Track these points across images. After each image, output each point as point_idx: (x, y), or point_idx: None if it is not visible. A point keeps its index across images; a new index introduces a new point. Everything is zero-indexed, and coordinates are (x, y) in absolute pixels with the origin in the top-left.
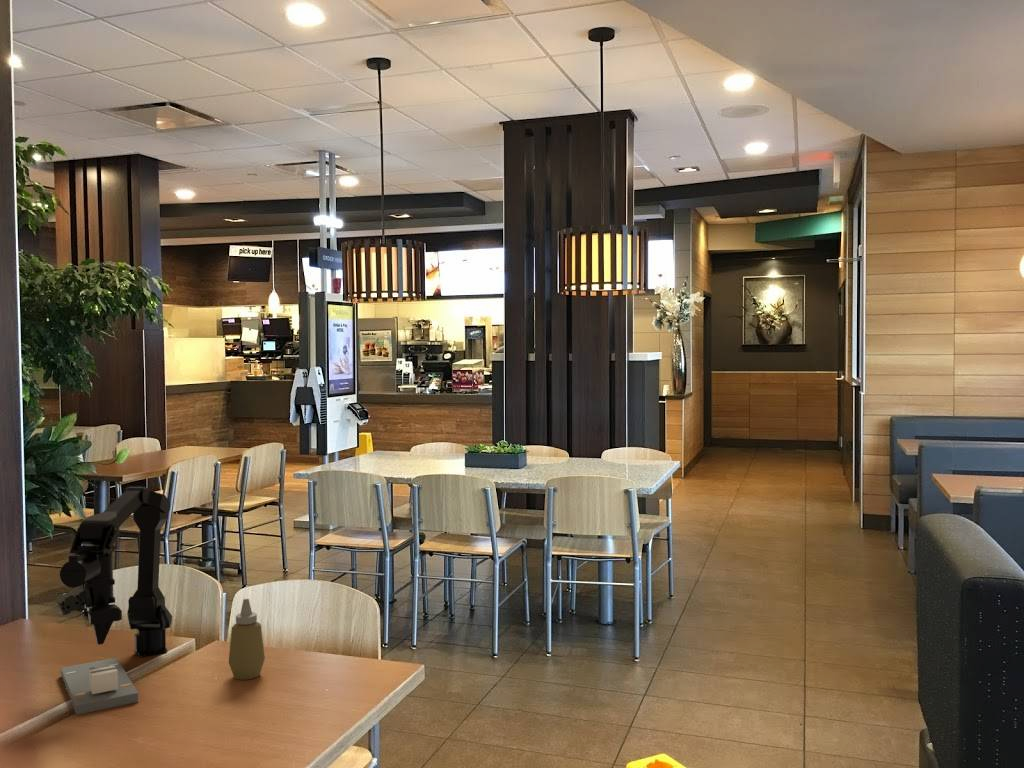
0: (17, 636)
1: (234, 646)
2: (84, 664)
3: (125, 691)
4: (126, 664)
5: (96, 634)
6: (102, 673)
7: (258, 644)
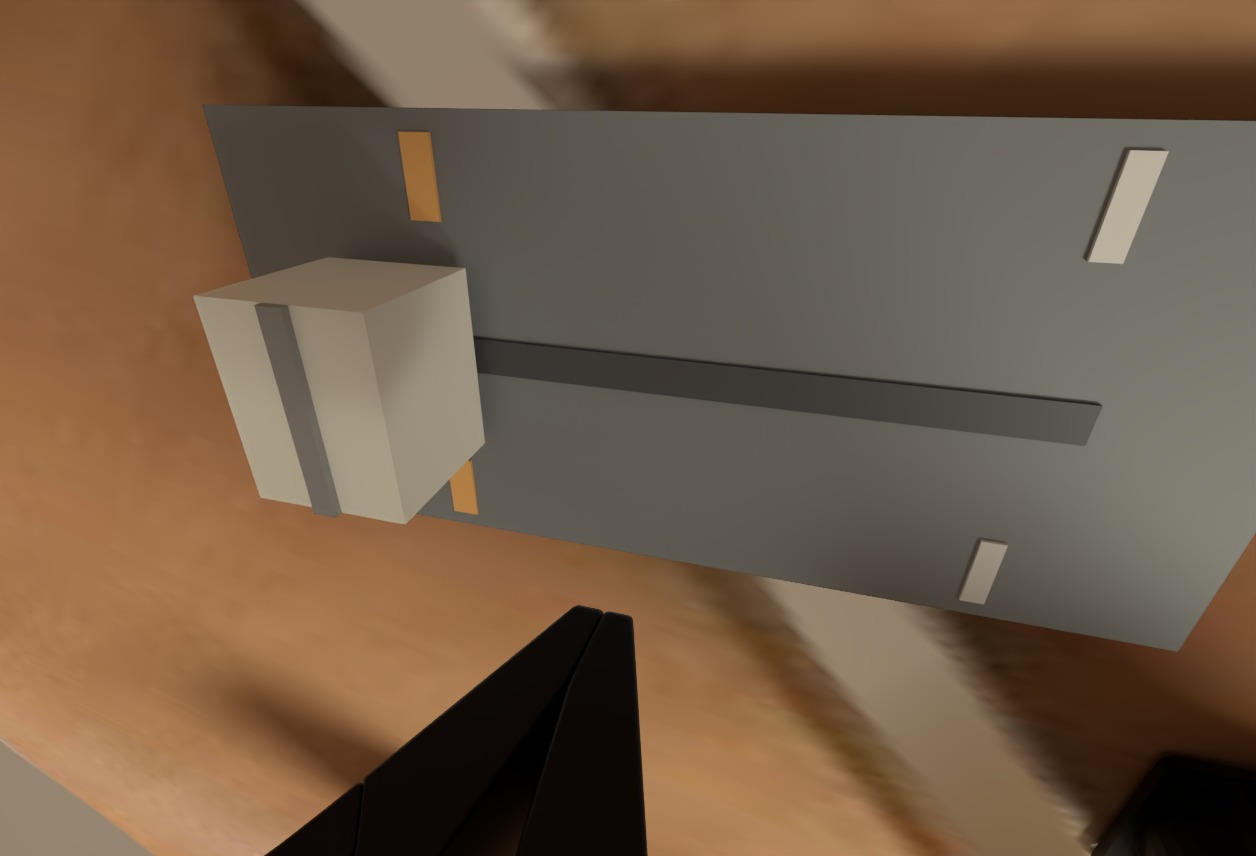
0: None
1: None
2: None
3: None
4: (1101, 646)
5: (420, 737)
6: (235, 389)
7: None
